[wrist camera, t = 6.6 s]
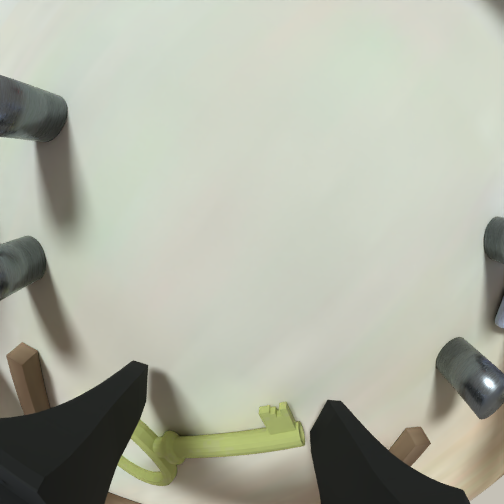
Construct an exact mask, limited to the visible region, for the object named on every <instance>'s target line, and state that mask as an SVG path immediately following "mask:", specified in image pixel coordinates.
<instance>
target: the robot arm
mask: <svg viewBox="0 0 504 504" xmlns="http://www.w3.org/2000/svg"><path fill="white" fill-rule="evenodd" d="M495 324H496V325H497V326H499V327H500V328H504V297H503V300H502V302H501V305H500V307H499V310H498V312H497V315H496V318H495ZM147 375H148V365H146V364H143V363H140V362H137V361H132V362H130V363H129V364H127V365H126V366H125V367H123V368H122V369H121V370H119V371H118V372H117V373H115V374H114V375H112V376H111V377H110V378H108V379H107V380H105V381H104V382H102V383H101V384H99V385H98V386H96V387H94V388H93V389H91V390H89V391H87V392H85V393H84V394H82V395H80V396H78V397H76V398H74V399H72V400H70V401H68V402H66V403H63V404H61V405H58V406H56V407H53V408H50V409H47V410H44V411H40V412H37V413H33V414H28V415H23V416H18V417H11V418H0V504H105V501H106V497H107V494H108V491H109V487H110V484H111V481H112V478H113V475H114V472H115V469H116V467H117V465H118V462H119V460H120V458H121V456H122V454H123V452H124V450H125V448H126V446H127V444H128V442H129V440H130V438H131V436H132V434H133V432H134V430H135V428H136V426H137V424H138V422H139V420H140V417H141V415H142V412H143V409H144V406H145V403H146V396H147ZM310 442H311V454H312V459H313V464H314V469H315V473H316V478H317V483H318V488H319V492H320V499H321V504H470V502H469V500H468V498H467V496H466V494H465V492H464V491H463V490H462V489H458V488H455V487H452V486H449V485H446V484H443V483H440V482H438V481H436V480H434V479H431V478H429V477H427V476H425V475H423V474H422V473H420V472H418V471H416V470H415V469H413V468H411V467H410V466H408V465H407V464H405V463H404V462H403V461H401V460H400V459H399V458H397V457H396V456H395V455H393V454H392V453H391V452H390V451H389V450H387V449H386V448H385V447H384V446H383V445H382V444H381V443H380V442H379V441H378V440H377V439H376V438H375V437H374V436H373V435H372V434H371V433H370V432H369V431H368V430H367V429H366V428H365V427H364V426H363V425H362V424H361V423H360V421H359V420H358V419H357V418H356V417H355V416H354V415H353V414H352V412H351V411H350V410H349V409H348V408H347V407H346V406H345V405H344V404H343V403H342V402H341V401H334V400H327V402H326V404H325V406H324V408H323V409H322V411H321V413H320V415H319V417H318V419H317V420H316V422H315V424H314V426H313V427H312V429H311V431H310Z"/></svg>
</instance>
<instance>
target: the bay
mask: <svg viewBox="0 0 504 504" xmlns="http://www.w3.org/2000/svg"><path fill="white" fill-rule="evenodd" d="M6 356H7V360H8V364H9V368H10V372H11V375H12V379H13V382H14V386H15V389H16V392H17V395H18V398H19V401H20V404H21V407H22V409H23V412H24V415H28V414H33V413H37V412H40V411H44V410H47V409H50V405H49V402H48V398H47V394H46V390H45V386H44V381H43V377H42V372H41V367H40V361H39V356H38V351H37V350H35V349H33V348H32V347H30V346H28V345H26V344H24V343H23V342H22V343H21V344H19V345H18V346H17V347H16V348H15V349H13V350H12V351H11V352H10V353H9V354H7V355H6ZM430 444H431V443H430V441H429V439H428V438H427V436H426V434H425V433H424V431H423V429H422V428H421V427H414V428H406V429H405V430H404V432H403V433H402V434H401V436H400V437H399V438H398V440H397V441H396V442H395V443H394V445H393V446H392V447H391V448H390V450H389V451H390V452H391V453H392V454H393V455H395V456H396V457H397V458H399V459H400V460H401V461H403V462H404V463H405V464H407V465H408V466H410V467H411V465H412V464H413V463H414V462H415V461H416V460H417V459H418V458H419V457H420V455H421V454H422V453H423V452H424V451H425V450H426V449H427V447H428V446H429V445H430ZM105 504H140V503H137V502H134V501H131V500H128V499H125V498H122V497H120V496H117V495H114V494H112V493H109V492H108V494H107V497H106V501H105Z"/></svg>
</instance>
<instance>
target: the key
mask: <svg viewBox="0 0 504 504" xmlns="http://www.w3.org/2000/svg"><path fill="white" fill-rule="evenodd" d="M259 415H260V417H261V419H262V421H263V423H264V424H265V426H266V428H260V429H254V430H247V431H240V432H231V433H222V434H212V435H198V436H179V435H178V434H177V433H175V432H173V431H166V432H165V433H164V435H163V436H162V437H158V436H157V435H156V434H155V433H154V432H153V431H152V430H151V429H150V428H149V427H148V426H147V425H146V424H145V423H143V422H142V421H141V420H139V422H138V424H137V426H136V428H135V430H134V432H133V434H132V436H131V439H132V440H133V441H134V442H135V443H136V444H137V445H138V446H139V447H140V448H141V449H142V450H143V451H144V452H145V453H146V454H147V455H148V456H149V457H150V458H151V459H152V460H153V461H154V463H155V464H156V465H157V466H158V468H159V469H160V471H161V472H152V471H148V470H145V469H143V468H141V467H139V466H137V465H135V464H134V463H132V462H130V461H129V460H127V459H126V458H125V457H123V456H121V458H120V460H119V462H118V466H119V467H121V468H122V469H123V470H125V471H126V472H128V473H129V474H131V475H132V476H134V477H136V478H137V479H139V480H141V481H144V482H146V483H149V484H152V485H158V486H166V485H169V484H170V483H171V482H172V481H173V479H174V478H175V476H176V473H177V465H179V464H181V463H183V462H184V460H185V458H208V457H226V456H238V455H248V454H257V453H265V452H272V451H278V450H284V449H290V448H295V447H301V446H304V445H305V436H304V431H303V427H302V424H301V422H300V421H298V422H295V420H294V418H293V416H292V414H291V411H290V409H289V407H288V405H287V402H282V403H279V410H277V409H276V407H270V405H267V406H262V407H259Z"/></svg>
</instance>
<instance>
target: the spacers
mask: <svg viewBox="0 0 504 504" xmlns="http://www.w3.org/2000/svg"><path fill="white" fill-rule="evenodd" d="M66 116H67V105H66V102H65V100H64V99H63V98H62V97H61V96H58V95H56V94H53V93H50V92H48V91H45V90H42V89H40V88H37V87H34V86H31V85H28V84H26V83H23V82H20V81H17V80H14V79H11V78H8V77H5V76H2V75H0V137H6V138H15V139H24V140H32V141H40V142H48V141H50V140H52V139H53V138H55V137H56V136H57V135H58V134H59V132H60V131H61V129H62V127H63V125H64V123H65V120H66ZM484 248H485V252H486V254H487V256H488V257H489V258H490V259H493V260H495V261H498V262H500V263H503V264H504V218H503V217H494V218H493V219H492V220H491V221H490V222H489V224H488V226H487V228H486V231H485V236H484ZM45 267H46V261H45V255H44V252H43V249H42V247H41V245H40V244H39V242H38V241H37V240H36V239H35V238H33V237H31V236H25V237H21V238H18V239H15V240H12V241H9V242H6V243H3V244H0V301H1V300H2V299H4V298H6V297H8V296H9V295H11V294H13V293H15V292H17V291H18V290H20V289H22V288H24V287H26V286H27V285H29V284H31V283H33V282H35V281H37V280H39V279H40V278H41V277H42V276H43V274H44V272H45ZM436 367H437V369H438V370H439V372H440V373H441V374H442V375H443V376H444V377H445V378H446V380H447V381H448V382H449V383H450V384H451V385H452V386H453V388H454V389H455V390H456V391H457V392H458V394H459V395H460V396H461V397H462V398H463V399H464V401H465V402H466V403H467V404H468V405H469V407H470V408H471V409H472V410H473V411H474V413H475V414H476V415H477V416H478V418H479V419H485V418H487V417H489V416H490V415H492V414H493V413H494V412H495V411H496V410H498V408H499V407H500V406H501V405H502V404H503V403H504V374H503V373H502V372H501V371H500V370H499V369H498V368H497V367H496V366H495V365H494V364H492V363H491V362H490V361H489V360H488V359H487V358H486V357H485V356H483V355H482V354H481V353H480V352H479V351H478V350H476V349H475V348H474V347H473V346H472V345H471V344H469V343H468V342H467V341H466V340H465V339H464V338H462V337H457V338H454V339H452V340H451V341H449V342H448V343H447V344H446V345H445V346H444V347H443V349H442V350H441V351H440V353H439V355H438V357H437V361H436Z"/></svg>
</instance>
